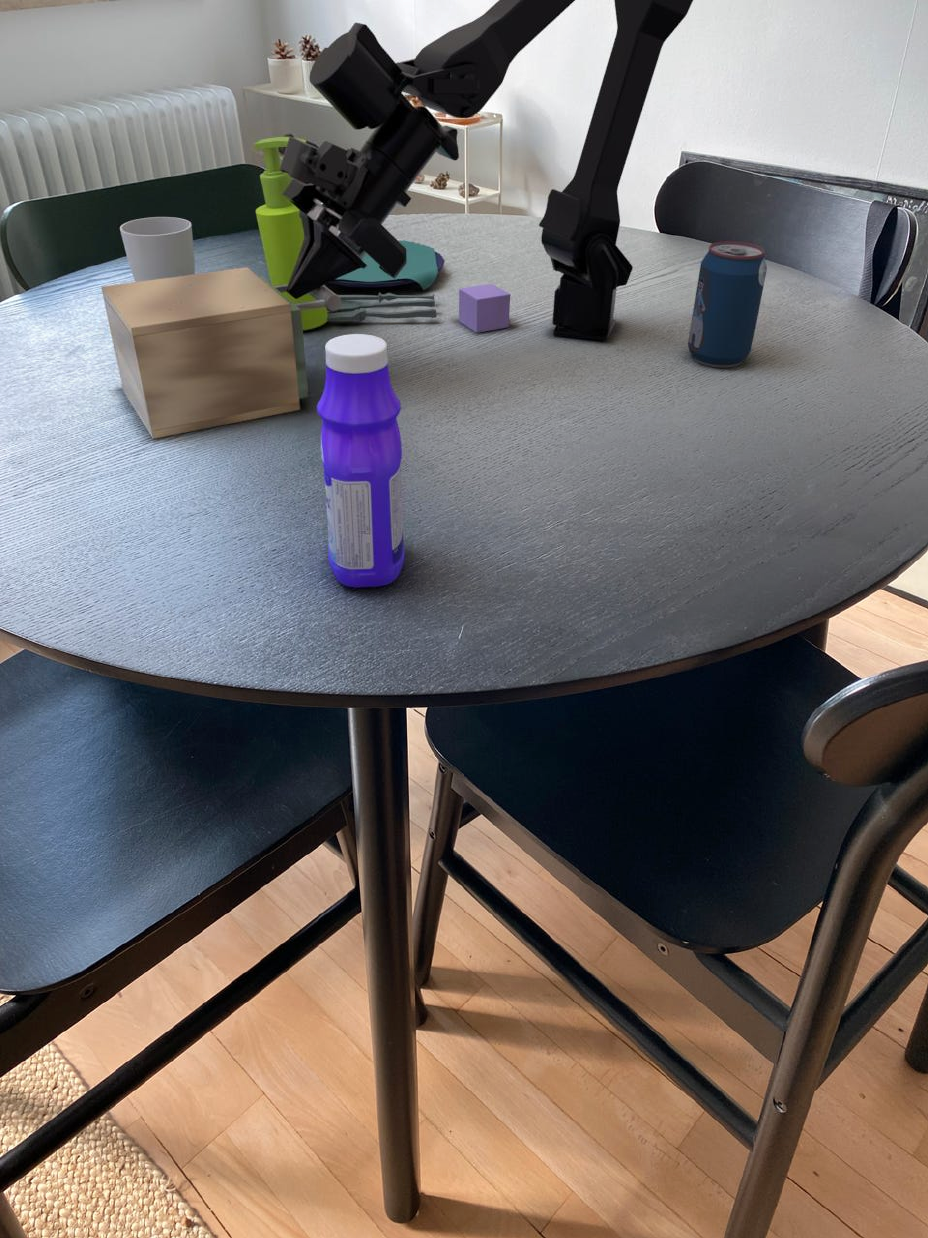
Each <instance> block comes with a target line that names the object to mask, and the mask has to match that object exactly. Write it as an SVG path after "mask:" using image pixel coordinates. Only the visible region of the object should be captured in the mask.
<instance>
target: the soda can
mask: <svg viewBox="0 0 928 1238" xmlns="http://www.w3.org/2000/svg"><path fill="white" fill-rule="evenodd" d="M767 271H768V266H767V262H766V260H765V249H764V248H763V247H762V246H760V245H757V244H755V243H750V242H745V241H734V240H726V241H725V240H724V241H717V242H713V243H711V244H709V246H708V251H707V253H706V254H705V256H703V258H702V260H701V261H700V266H699V273H698V278H697V284H696V290H695V297H694V302H693V308H692V309H693V310H692V316H691V321H690V322H691V323H690V329H689V334H688V340H687V347H688V350H689V353H690V355H691V358H692V359H693V360H694V361H695V362H696V363H698V364H701V365H703V366H706V367H711V368H723V369H724V368H728V369H729V368H733V367H738V366H740V365H741V364H742V363H743V362H744V361H745V360H746V358H747V357H748V356H749V355H750V354H751V351H752V346H753V342H754V337H755V333H756V332H755V331H756V326H757V323H758V317H759V311H760V306H761V301H762V297H763V292H764V286H765V281H766V277H767V276H766V275H767Z"/></svg>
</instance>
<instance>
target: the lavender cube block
mask: <svg viewBox="0 0 928 1238" xmlns="http://www.w3.org/2000/svg"><path fill="white" fill-rule="evenodd" d="M510 307H511V293H509V292H507V291H505V290H504V289H502V288H500V287H498V286H496V285H495V284H493V283H487V284H480V285H473V286H467V287H466V286H465V287H461V288H458V322H459V323H461V324H462V325H464V326H465V327H466V328H468V329H470V330H471V331H473V332H474V333H475V334H479V333H483V332H485V333H486V332H489V331H494V330H501V329H506V328H509V327H510V310H511V309H510Z"/></svg>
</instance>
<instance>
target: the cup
mask: <svg viewBox="0 0 928 1238" xmlns="http://www.w3.org/2000/svg"><path fill="white" fill-rule="evenodd" d="M192 227H193V225H192V222H191V221H190V220H187V219H184V218H180V217H174V216H172V217H171V216H153V217H152V216H151V217H144V218H138V219H132V220H129V221H127V222H124V223H123V224H121V225H120V227H119V230H120V236H121V239H122V242H123V246H124V251H125V254H126V259H127V262H128V266H129V268H130V271H131V274H132V276H133V279H134V282H140V281H148V280H155V279H163V278H170V277H178V276H185V275H193V274H196V259H195V247H194V237H193V228H192Z"/></svg>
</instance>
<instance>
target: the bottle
mask: <svg viewBox="0 0 928 1238" xmlns="http://www.w3.org/2000/svg"><path fill="white" fill-rule="evenodd" d="M324 349H325V383H324V389H323V392H322V394H321V397H320V399H319V400H318V403H317V406H316V411H317V414H318V416H319V417H320V419H321V420H322V423H321V429H320V430H321V431H320V458H321V462H322V466H323V477H324V488H325V503H326V517H327V518H326V519H327V521H326V522H327V535H328V538H327V539H328V548H327V556H328V557H327V558H328V563H329V566H330V569H331V572H332V573H333V576H334V577H335V579H336V580H337V582H339V583H340V584H342V585H343V586H346V587H351V588H375V587H383V586H387V585H390V584H392V583H393V582H395V580H396V579H398V577H399V575H400V574H401V572H402V568H403V565H404V561H405V541H404V523H403V519H404V518H403V494H402V493H403V492H402V457H403V450H402V449H403V448H402V447H403V446H402V438H401V431H400V427H399V423H398V419H397V418H398V416H399V414H400V412H401V410H402V404H401V400H400V398H398V396H397V394H396V393H395V391H394V388H393V385H392V383H391V382H392V381H391V376H390V371H389V359H388V344H387V342H386V341H385V340H384V339H383V338H381V337H378V336H376V335H371V334H364V333H351V334H343V335H338V336H336V337H333V338H331V339H329V340H328V341H327V342H326V343H325V346H324Z"/></svg>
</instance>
